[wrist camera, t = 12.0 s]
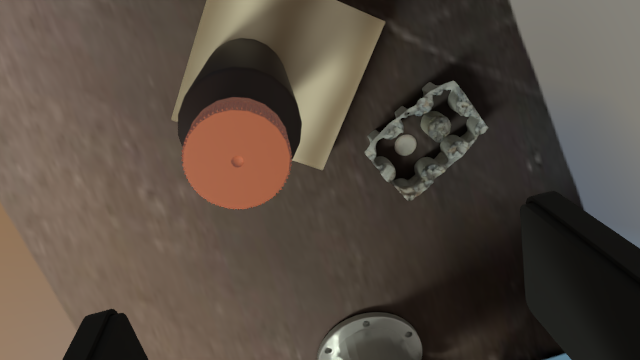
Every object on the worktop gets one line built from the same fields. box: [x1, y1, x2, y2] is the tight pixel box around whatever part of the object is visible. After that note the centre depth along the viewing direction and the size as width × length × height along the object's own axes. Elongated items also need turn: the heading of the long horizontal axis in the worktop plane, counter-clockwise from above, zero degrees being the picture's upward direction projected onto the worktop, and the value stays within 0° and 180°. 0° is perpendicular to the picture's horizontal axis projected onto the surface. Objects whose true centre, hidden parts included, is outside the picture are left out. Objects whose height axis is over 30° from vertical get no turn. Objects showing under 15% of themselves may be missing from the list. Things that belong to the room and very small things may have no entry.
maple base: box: [171, 0, 385, 170], centre depth 41 cm, size 14×14×3 cm
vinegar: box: [178, 38, 302, 210], centre depth 30 cm, size 7×7×20 cm
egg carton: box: [365, 81, 488, 201], centre depth 45 cm, size 11×8×4 cm
